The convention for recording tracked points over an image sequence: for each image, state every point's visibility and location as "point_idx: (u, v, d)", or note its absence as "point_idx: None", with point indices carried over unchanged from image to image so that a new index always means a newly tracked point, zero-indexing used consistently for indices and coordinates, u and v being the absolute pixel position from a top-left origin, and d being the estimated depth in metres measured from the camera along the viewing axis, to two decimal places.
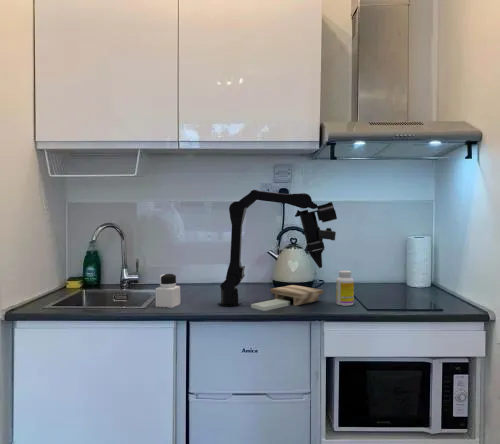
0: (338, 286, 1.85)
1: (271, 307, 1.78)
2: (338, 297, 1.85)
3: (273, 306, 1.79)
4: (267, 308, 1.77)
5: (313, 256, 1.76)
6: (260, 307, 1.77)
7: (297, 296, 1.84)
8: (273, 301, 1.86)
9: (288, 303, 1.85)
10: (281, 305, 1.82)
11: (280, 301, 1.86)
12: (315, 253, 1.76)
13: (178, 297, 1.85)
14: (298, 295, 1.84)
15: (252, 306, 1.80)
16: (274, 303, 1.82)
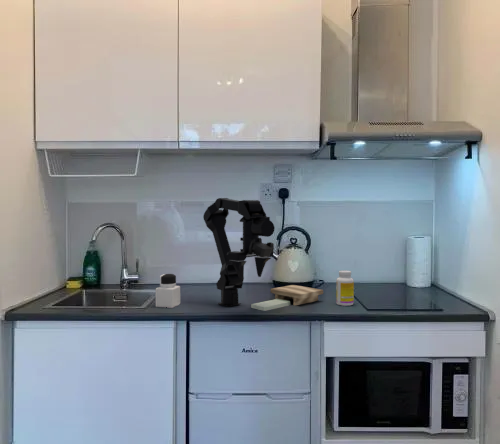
0: (338, 286, 1.85)
1: (271, 307, 1.78)
2: (338, 297, 1.85)
3: (273, 306, 1.79)
4: (267, 308, 1.77)
5: (235, 266, 1.71)
6: (260, 307, 1.77)
7: (297, 296, 1.84)
8: (273, 301, 1.86)
9: (288, 303, 1.85)
10: (281, 305, 1.82)
11: (280, 301, 1.86)
12: (238, 263, 1.70)
13: (178, 297, 1.85)
14: (298, 295, 1.84)
15: (252, 306, 1.80)
16: (274, 303, 1.82)
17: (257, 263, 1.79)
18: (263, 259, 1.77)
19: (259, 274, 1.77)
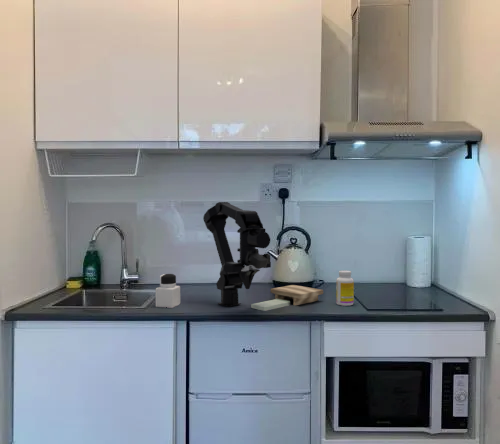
0: (338, 286, 1.85)
1: (271, 307, 1.78)
2: (338, 297, 1.85)
3: (273, 306, 1.79)
4: (267, 308, 1.77)
5: (241, 275, 1.74)
6: (260, 307, 1.77)
7: (297, 296, 1.84)
8: (273, 301, 1.86)
9: (288, 303, 1.85)
10: (281, 305, 1.82)
11: (280, 301, 1.86)
12: (243, 273, 1.74)
13: (178, 297, 1.85)
14: (298, 295, 1.84)
15: (252, 306, 1.80)
16: (274, 303, 1.82)
17: None
18: (252, 271, 1.74)
19: None
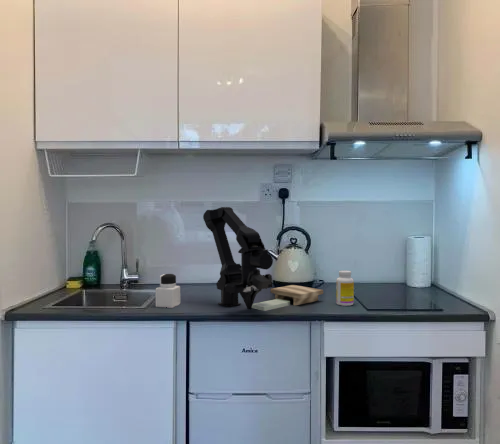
0: (338, 286, 1.85)
1: (271, 307, 1.78)
2: (338, 297, 1.85)
3: (273, 306, 1.79)
4: (267, 308, 1.77)
5: (242, 295, 1.75)
6: (260, 307, 1.77)
7: (297, 296, 1.84)
8: (273, 301, 1.86)
9: (288, 303, 1.85)
10: (281, 305, 1.82)
11: (280, 301, 1.86)
12: (245, 293, 1.75)
13: (178, 297, 1.85)
14: (298, 295, 1.84)
15: (252, 306, 1.80)
16: (274, 303, 1.82)
17: None
18: (253, 291, 1.75)
19: None
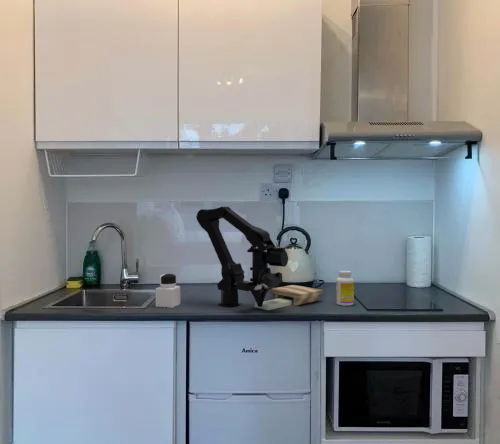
0: (338, 286, 1.85)
1: (274, 306, 1.80)
2: (338, 297, 1.85)
3: (276, 305, 1.80)
4: (271, 307, 1.78)
5: (253, 293, 1.79)
6: (264, 306, 1.79)
7: (297, 296, 1.84)
8: (276, 300, 1.87)
9: (291, 302, 1.86)
10: (284, 304, 1.83)
11: (283, 300, 1.87)
12: (256, 291, 1.78)
13: (178, 297, 1.85)
14: (298, 295, 1.84)
15: (255, 305, 1.82)
16: (277, 302, 1.83)
17: None
18: (264, 289, 1.78)
19: None
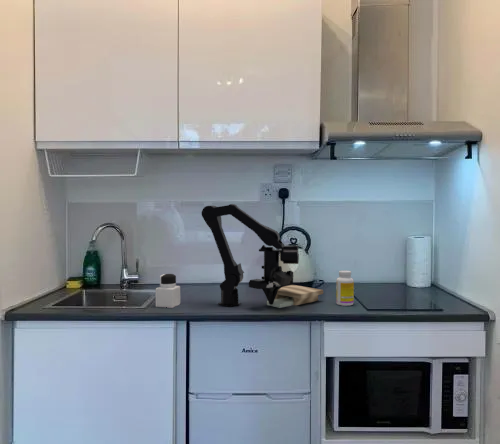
0: (338, 286, 1.85)
1: (286, 304, 1.83)
2: (338, 297, 1.85)
3: (288, 303, 1.84)
4: (282, 305, 1.82)
5: (265, 291, 1.83)
6: (276, 304, 1.82)
7: (297, 296, 1.84)
8: (288, 298, 1.91)
9: None
10: None
11: None
12: (267, 289, 1.83)
13: (178, 297, 1.85)
14: (298, 295, 1.84)
15: (268, 303, 1.86)
16: (289, 300, 1.87)
17: None
18: (275, 287, 1.82)
19: None
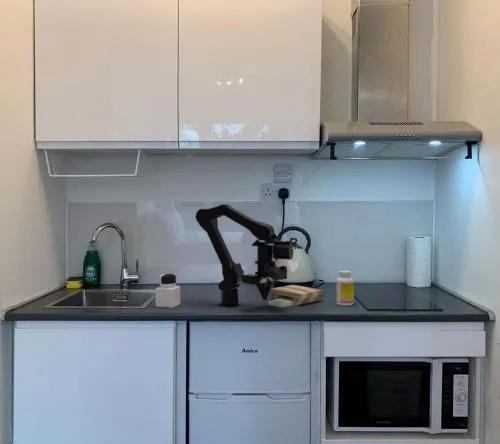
0: (338, 286, 1.85)
1: (288, 304, 1.84)
2: (338, 297, 1.85)
3: (290, 303, 1.85)
4: (284, 305, 1.83)
5: (258, 287, 1.80)
6: (277, 304, 1.83)
7: (297, 296, 1.84)
8: (289, 298, 1.91)
9: None
10: None
11: None
12: (261, 285, 1.80)
13: (178, 297, 1.85)
14: (298, 295, 1.84)
15: (269, 303, 1.86)
16: (290, 300, 1.88)
17: None
18: (269, 283, 1.80)
19: None
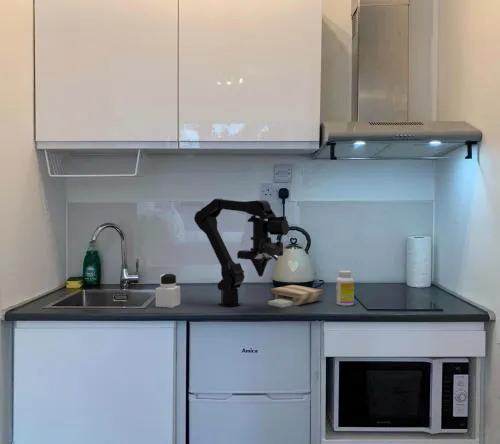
0: (338, 286, 1.85)
1: (288, 304, 1.84)
2: (338, 297, 1.85)
3: (290, 303, 1.85)
4: (284, 305, 1.83)
5: (254, 263, 1.79)
6: (277, 304, 1.83)
7: (297, 296, 1.84)
8: (289, 298, 1.91)
9: None
10: None
11: None
12: (256, 261, 1.78)
13: (178, 297, 1.85)
14: (298, 295, 1.84)
15: (269, 303, 1.86)
16: (290, 300, 1.88)
17: None
18: (264, 259, 1.78)
19: None
